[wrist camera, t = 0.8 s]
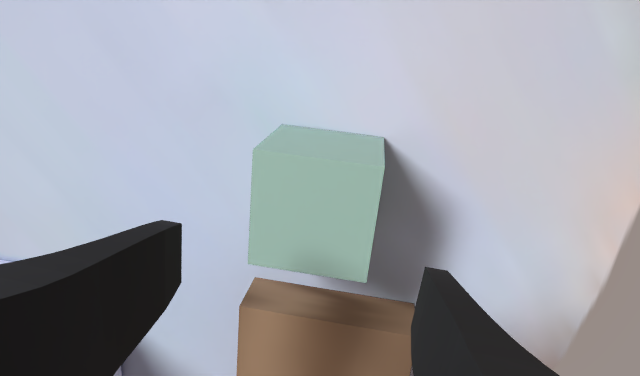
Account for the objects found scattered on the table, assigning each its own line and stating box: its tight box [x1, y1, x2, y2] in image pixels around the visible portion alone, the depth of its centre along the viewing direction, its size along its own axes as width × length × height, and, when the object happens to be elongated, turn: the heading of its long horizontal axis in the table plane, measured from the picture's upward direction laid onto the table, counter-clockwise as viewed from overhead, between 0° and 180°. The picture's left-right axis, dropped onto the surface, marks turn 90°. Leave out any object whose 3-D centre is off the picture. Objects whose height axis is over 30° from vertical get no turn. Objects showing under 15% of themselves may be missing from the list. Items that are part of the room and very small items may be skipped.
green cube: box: [248, 124, 385, 283], centre depth 19 cm, size 5×5×5 cm
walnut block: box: [237, 277, 415, 376], centre depth 24 cm, size 9×9×3 cm
